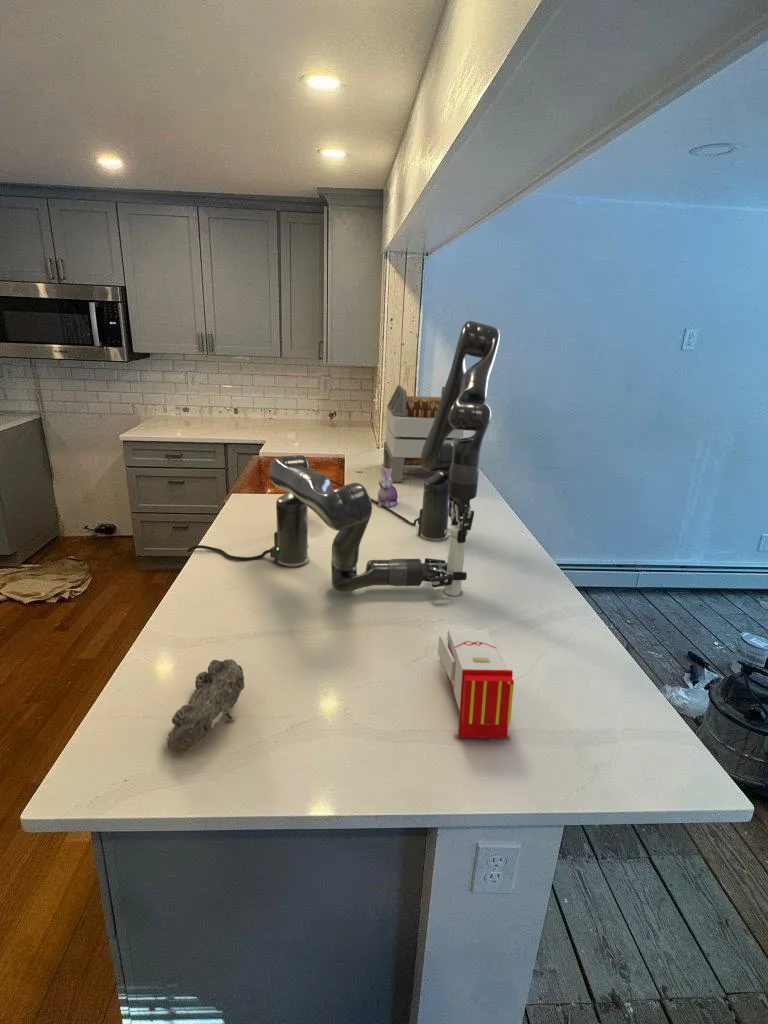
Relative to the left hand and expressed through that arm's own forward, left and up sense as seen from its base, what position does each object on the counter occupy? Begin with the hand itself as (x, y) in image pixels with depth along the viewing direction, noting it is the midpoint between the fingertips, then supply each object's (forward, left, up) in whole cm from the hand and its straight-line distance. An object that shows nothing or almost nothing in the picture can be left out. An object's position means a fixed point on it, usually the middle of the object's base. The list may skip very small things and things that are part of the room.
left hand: (463, 572), depth 159 cm
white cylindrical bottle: (-2, -1, -6) cm, 7 cm away
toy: (+11, -44, -6) cm, 45 cm away
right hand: (-2, -1, +10) cm, 11 cm away
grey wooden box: (-44, +113, -6) cm, 122 cm away
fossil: (-34, -70, -6) cm, 78 cm away
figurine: (-44, +63, -6) cm, 77 cm away
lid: (-2, -1, +13) cm, 13 cm away
